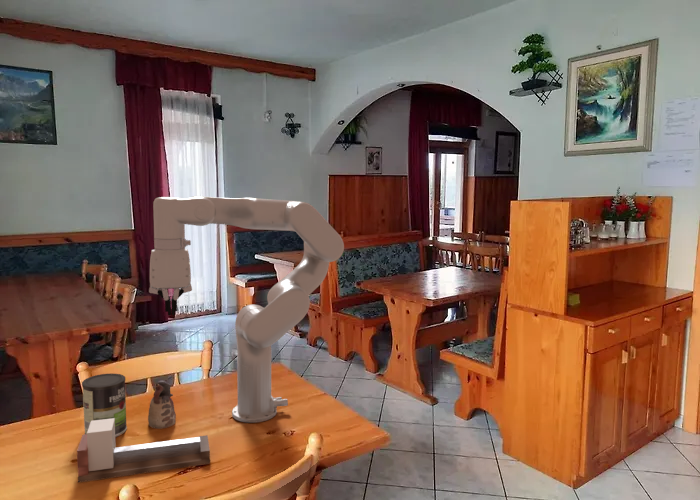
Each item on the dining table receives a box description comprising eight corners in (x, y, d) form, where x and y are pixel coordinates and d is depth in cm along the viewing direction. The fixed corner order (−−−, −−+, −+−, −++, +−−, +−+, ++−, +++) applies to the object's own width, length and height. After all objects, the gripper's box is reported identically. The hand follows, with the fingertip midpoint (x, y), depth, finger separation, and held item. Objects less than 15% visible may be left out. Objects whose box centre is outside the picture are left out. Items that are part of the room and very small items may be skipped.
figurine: (181, 419, 148) (180, 378, 146) (165, 430, 141) (164, 387, 139) (159, 415, 150) (158, 374, 148) (142, 426, 143) (141, 383, 142)
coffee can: (135, 424, 144) (133, 374, 142) (110, 442, 134) (108, 389, 132) (101, 420, 146) (99, 371, 144) (75, 438, 136) (72, 385, 134)
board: (207, 445, 133) (207, 419, 132) (210, 463, 125) (209, 435, 124) (84, 462, 124) (83, 433, 124) (77, 482, 116) (76, 452, 115)
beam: (199, 448, 129) (199, 436, 129) (200, 453, 127) (200, 441, 127) (91, 463, 122) (90, 450, 121) (89, 468, 120) (89, 455, 119)
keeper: (116, 454, 125) (114, 418, 124) (113, 468, 119) (111, 430, 118) (92, 457, 124) (91, 420, 123) (88, 471, 118) (86, 433, 117)
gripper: (199, 242, 143) (200, 309, 146) (139, 243, 139) (141, 312, 141) (200, 246, 136) (201, 315, 139) (137, 247, 132) (140, 319, 134)
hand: (171, 314), depth 140 cm, fingers closed
